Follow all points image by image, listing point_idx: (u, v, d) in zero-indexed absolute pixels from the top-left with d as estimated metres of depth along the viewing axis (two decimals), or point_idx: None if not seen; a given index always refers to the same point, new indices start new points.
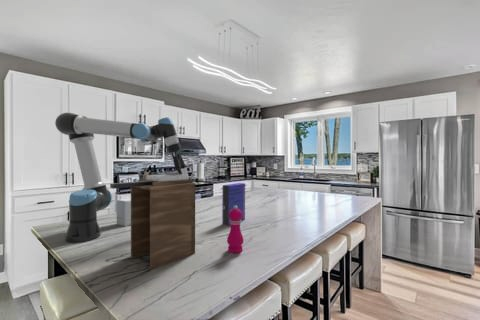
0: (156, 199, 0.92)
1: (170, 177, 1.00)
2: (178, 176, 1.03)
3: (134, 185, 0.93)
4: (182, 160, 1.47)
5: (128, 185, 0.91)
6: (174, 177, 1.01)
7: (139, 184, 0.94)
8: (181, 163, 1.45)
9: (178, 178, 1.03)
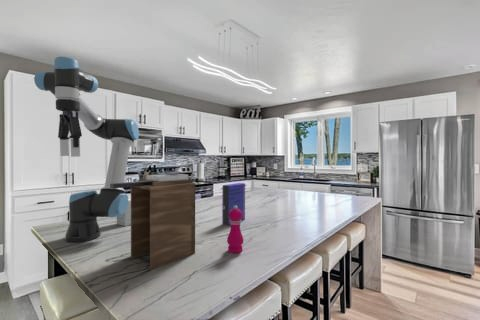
0: (156, 199, 0.92)
1: (170, 177, 1.00)
2: (178, 176, 1.03)
3: (134, 185, 0.93)
4: None
5: (128, 185, 0.91)
6: (174, 177, 1.01)
7: (139, 184, 0.94)
8: (65, 131, 0.97)
9: (178, 178, 1.03)
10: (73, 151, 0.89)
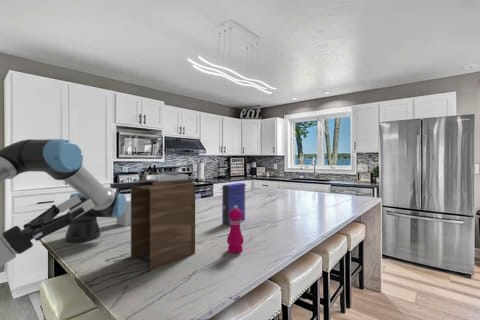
0: (156, 199, 0.92)
1: (170, 177, 1.00)
2: (178, 176, 1.03)
3: (134, 185, 0.93)
4: (41, 215, 0.79)
5: (128, 185, 0.91)
6: (174, 177, 1.01)
7: (139, 184, 0.94)
8: (50, 215, 0.79)
9: (178, 178, 1.03)
10: (88, 208, 0.77)
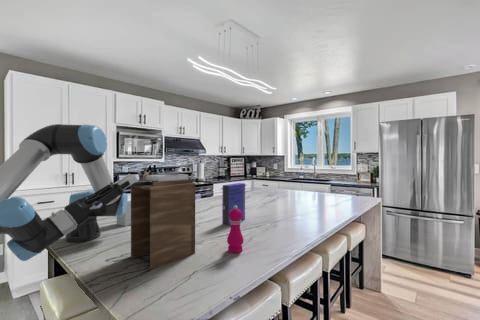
0: (156, 199, 0.92)
1: (170, 177, 1.00)
2: (178, 176, 1.03)
3: (134, 185, 0.93)
4: (98, 192, 0.89)
5: None
6: (174, 177, 1.01)
7: (139, 184, 0.94)
8: (105, 192, 0.88)
9: (178, 178, 1.03)
10: (132, 182, 0.91)
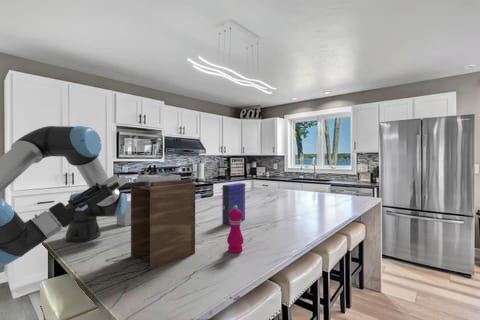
0: (156, 199, 0.92)
1: (161, 178, 0.97)
2: (170, 177, 1.00)
3: (123, 186, 0.90)
4: (84, 193, 0.86)
5: None
6: (165, 178, 0.98)
7: (129, 185, 0.91)
8: (91, 193, 0.85)
9: (170, 179, 1.00)
10: (122, 183, 0.87)
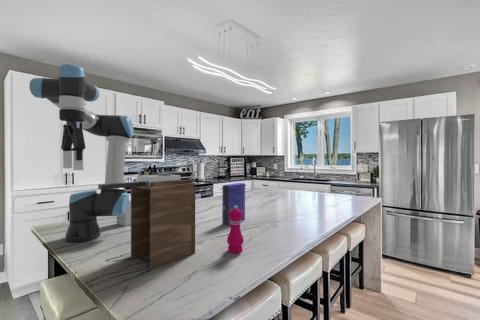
0: (156, 199, 0.92)
1: (161, 178, 0.97)
2: (170, 177, 1.00)
3: (123, 186, 0.90)
4: None
5: (117, 186, 0.88)
6: (165, 178, 0.98)
7: (129, 185, 0.91)
8: (69, 142, 0.92)
9: (170, 179, 1.00)
10: (75, 164, 0.83)
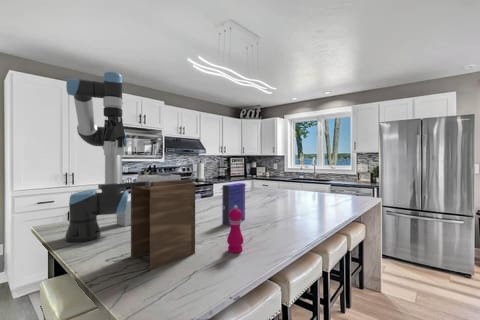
0: (156, 199, 0.92)
1: (161, 178, 0.97)
2: (170, 177, 1.00)
3: (123, 186, 0.90)
4: None
5: (117, 186, 0.88)
6: (165, 178, 0.98)
7: (129, 185, 0.91)
8: (109, 134, 1.14)
9: (170, 179, 1.00)
10: (117, 150, 1.05)
